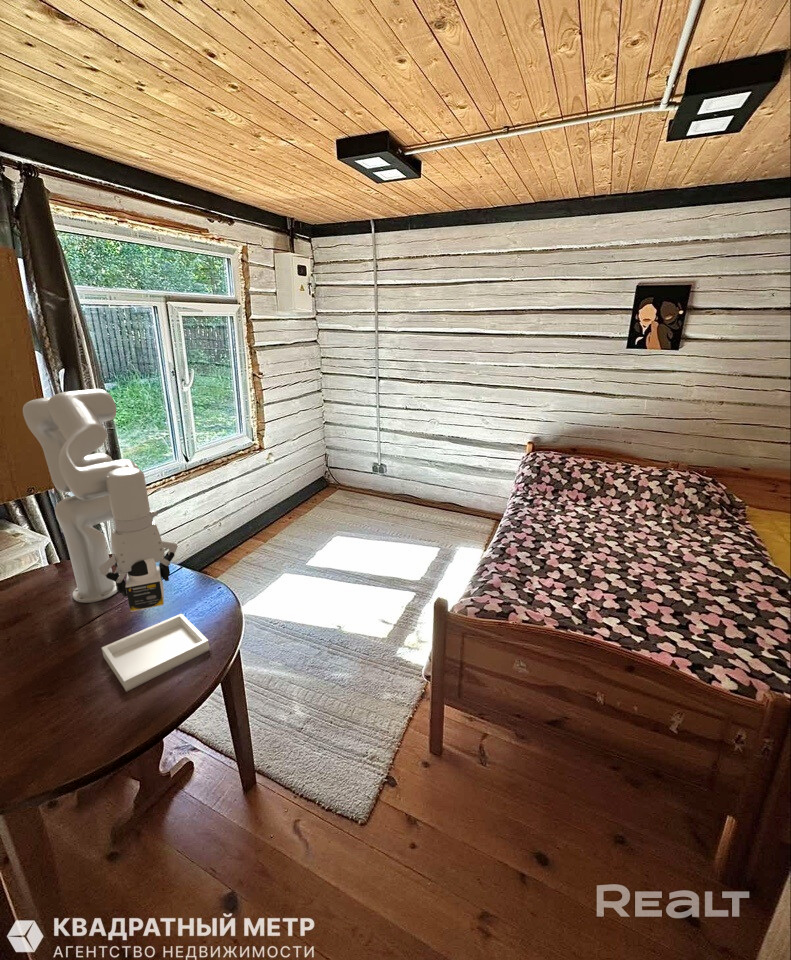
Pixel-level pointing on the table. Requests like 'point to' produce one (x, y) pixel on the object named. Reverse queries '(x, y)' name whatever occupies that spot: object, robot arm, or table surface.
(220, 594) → the table surface
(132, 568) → the medicine bottle
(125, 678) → the tray
